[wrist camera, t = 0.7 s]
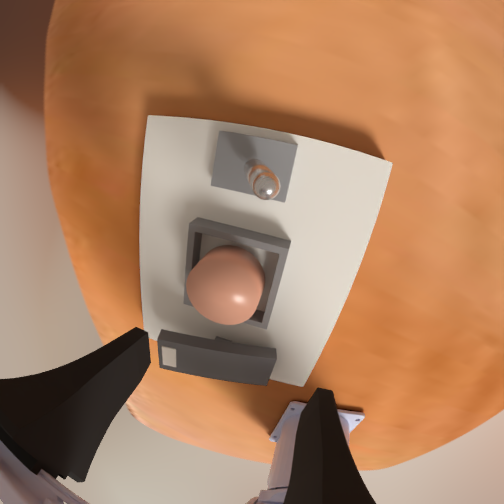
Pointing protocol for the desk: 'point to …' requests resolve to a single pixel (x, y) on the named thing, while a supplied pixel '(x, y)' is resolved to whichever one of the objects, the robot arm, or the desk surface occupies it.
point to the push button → (226, 285)
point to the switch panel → (255, 230)
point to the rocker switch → (215, 358)
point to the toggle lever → (261, 179)
